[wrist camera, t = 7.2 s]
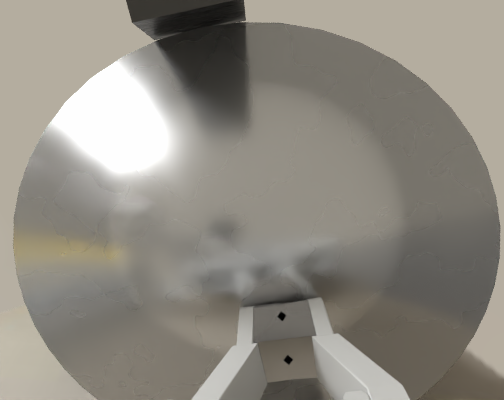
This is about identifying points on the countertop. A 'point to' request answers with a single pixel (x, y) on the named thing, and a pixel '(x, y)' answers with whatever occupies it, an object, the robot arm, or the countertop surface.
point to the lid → (251, 207)
